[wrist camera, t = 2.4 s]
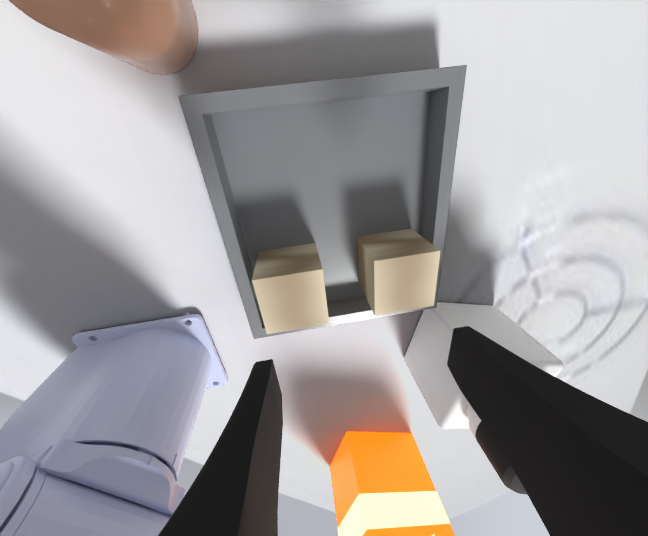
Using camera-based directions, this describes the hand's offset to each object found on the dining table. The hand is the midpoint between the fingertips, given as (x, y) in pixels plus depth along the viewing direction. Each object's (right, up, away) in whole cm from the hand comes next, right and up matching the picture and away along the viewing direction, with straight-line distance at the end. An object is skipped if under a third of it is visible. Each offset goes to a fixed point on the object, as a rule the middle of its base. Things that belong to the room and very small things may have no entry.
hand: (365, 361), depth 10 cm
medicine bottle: (+10, -2, +15) cm, 18 cm away
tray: (-1, +7, +8) cm, 11 cm away
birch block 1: (-4, +3, +9) cm, 10 cm away
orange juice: (+4, -19, +23) cm, 30 cm away
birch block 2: (+3, +4, +9) cm, 11 cm away
